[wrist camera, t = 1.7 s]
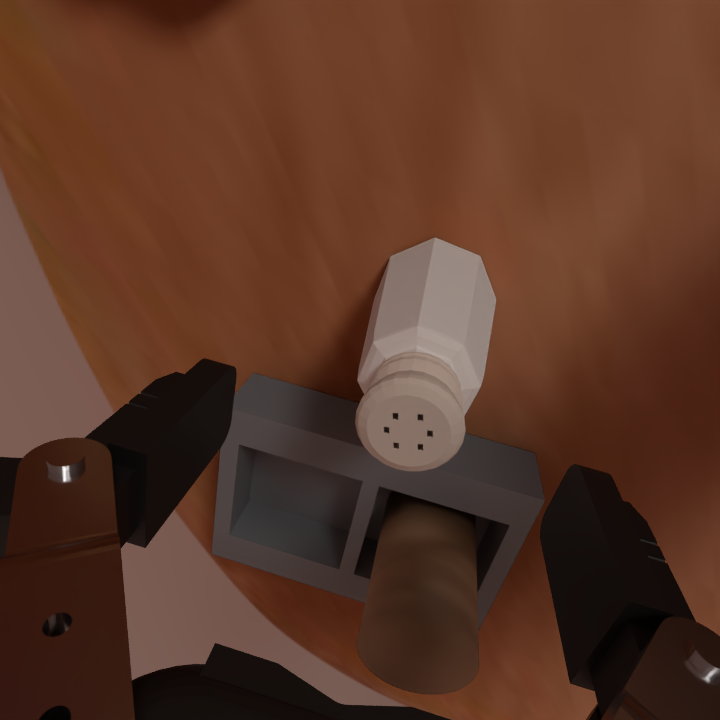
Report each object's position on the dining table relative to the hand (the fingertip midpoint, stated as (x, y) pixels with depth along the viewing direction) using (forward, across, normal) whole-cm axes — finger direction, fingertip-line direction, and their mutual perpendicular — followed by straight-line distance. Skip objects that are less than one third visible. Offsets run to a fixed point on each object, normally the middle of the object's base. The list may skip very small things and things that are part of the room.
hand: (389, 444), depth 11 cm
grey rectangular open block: (+12, 0, +12) cm, 17 cm away
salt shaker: (+12, -1, 0) cm, 12 cm away
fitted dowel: (+11, -4, +11) cm, 16 cm away
